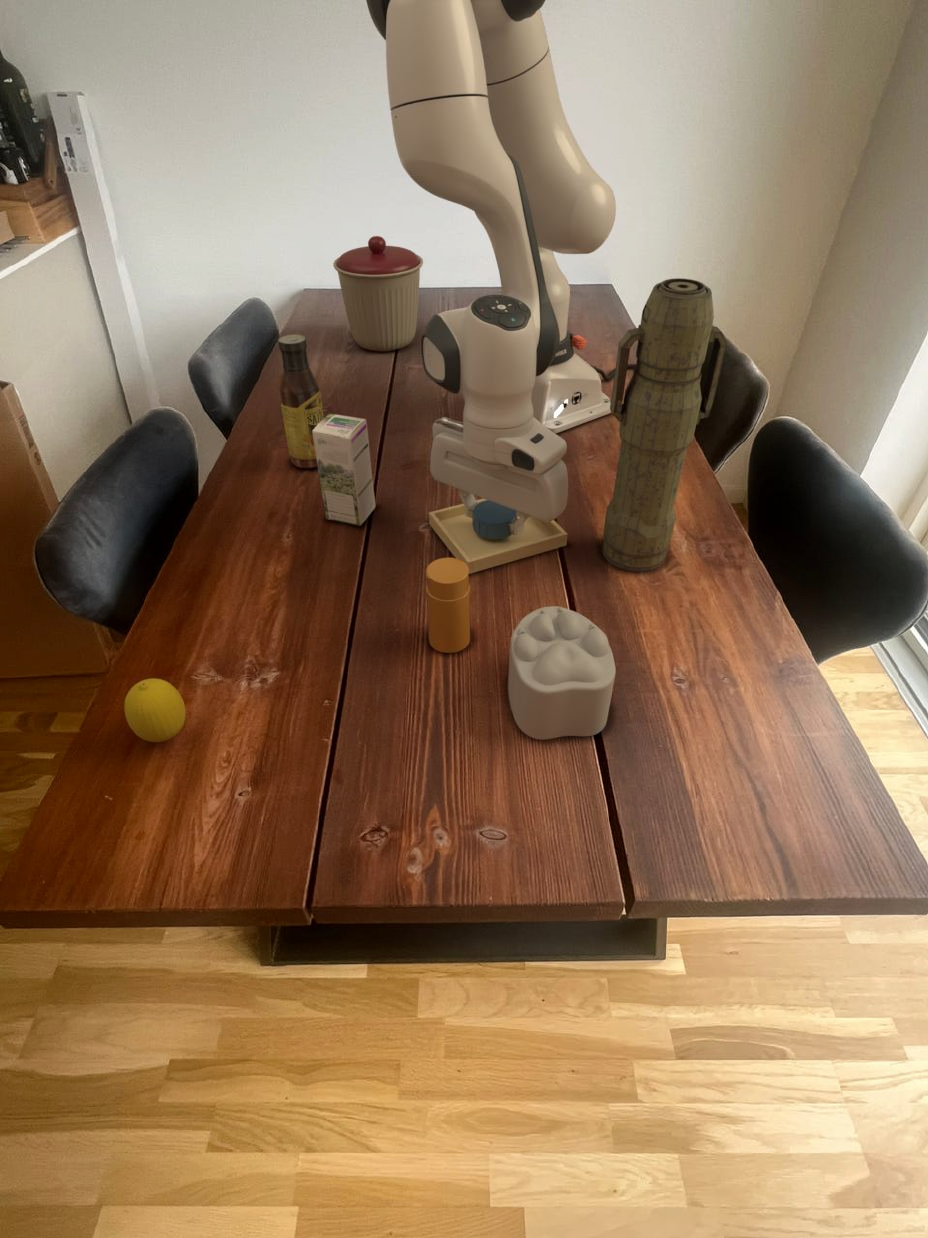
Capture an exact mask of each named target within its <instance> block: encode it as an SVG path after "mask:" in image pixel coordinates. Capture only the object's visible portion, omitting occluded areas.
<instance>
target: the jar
mask: <svg viewBox="0 0 928 1238" xmlns="http://www.w3.org/2000/svg"><path fill="white" fill-rule="evenodd" d="M424 572H425V576H426V585H425V595H426V614H427V615H426V618H427V634H428V642H429V645H430V646H431V647H432V649H434V650H436V651H437V652H439V653H444V654H453V653H458V652H461V651H463V650H464V649H466V648H467V647H468V645H469V644H470V641H471V584H470V574H469V568H468V566H467V564H466V563H464V562H463V561H461V560H459V559H456V558H455V557H441V558H437V559H435V560H433V561H432V562H430V563H429V564H428V565H427V567H426V568H425V571H424Z"/></svg>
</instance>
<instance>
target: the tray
mask: <svg viewBox="0 0 928 1238" xmlns="http://www.w3.org/2000/svg"><path fill="white" fill-rule="evenodd" d="M475 500H476V503H481V502H483V501H487V500H486V499H484V498H480V499H475ZM517 518H518V519H519V518H520V517H518V516H517ZM428 524H429V525H430V527H431V528H432V530H433V531H434V532H435V533H436V535H437V536H438V537H439V538H440V540H441V541H442V543H443V544H444V545H445V547H447V549H448V550H449V552H451V554H452V555H453V558H456V559H459V560H461V561H463V562H464V563H466V564H467V566H468V568H469V575H470V574H474V573H476V572H481V571H484V570H487V569H490V568H491V569H492V568H494V567H497V566H501V565H505V564H508V563H511V562H515V561H518V560H522V559H524V558H525V559H526V558H529V557H532V556H535V555H538V554H542V553H545V552H549V551H553V550H555V549H559V548H563V547H565V546H567V543H568V533H567V531H565V530H564V529H563V528H562V527H561V525H560V524H558V522H557V521H555V519H554V520H553V521H551V522H545V521H543V520H540V519H537V518H535V517H532V516H529V517H528V519H527V520H526V521H525V523H524V531H523V533H522V534H521V535H519V536H516V535H513V534H512V535H511V536H509V537H507V538H503V539H486V538H483V537H481V536H479V535H478V534H476V533H475V531H474V529H473V519H472V518H469V517H467V516H466V507H465V506H464V504H463V503H461V504H457V505H452V506H449V507H445V508H441V509H436V510H433V511H429V512H428Z"/></svg>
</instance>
